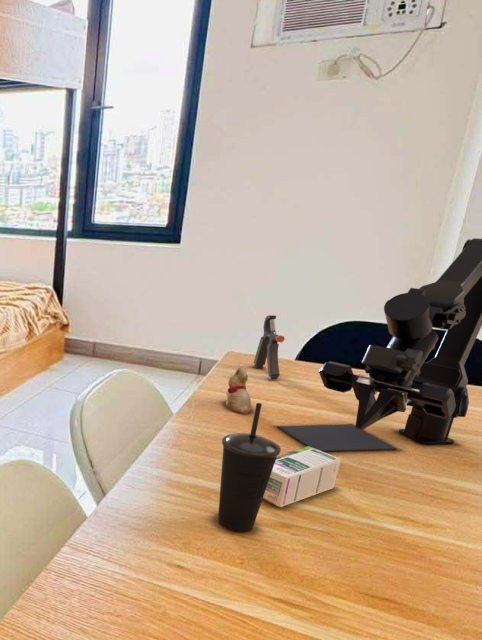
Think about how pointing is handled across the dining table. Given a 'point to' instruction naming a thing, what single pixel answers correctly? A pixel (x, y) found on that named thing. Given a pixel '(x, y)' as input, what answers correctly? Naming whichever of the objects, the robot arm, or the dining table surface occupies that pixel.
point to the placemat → (336, 438)
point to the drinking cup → (244, 476)
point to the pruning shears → (269, 348)
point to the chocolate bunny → (238, 392)
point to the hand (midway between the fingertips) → (358, 428)
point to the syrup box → (301, 476)
